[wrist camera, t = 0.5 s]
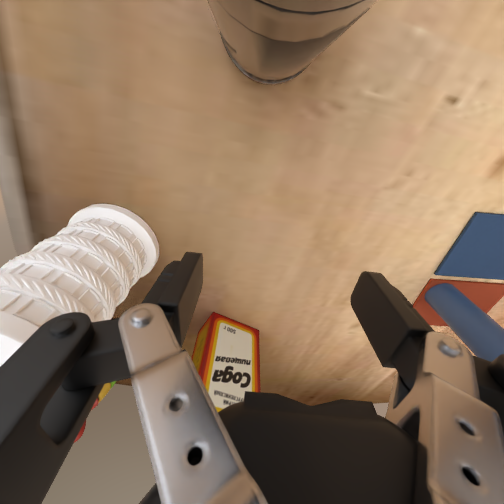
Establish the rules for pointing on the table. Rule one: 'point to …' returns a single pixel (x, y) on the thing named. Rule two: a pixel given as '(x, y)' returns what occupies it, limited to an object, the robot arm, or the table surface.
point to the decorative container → (75, 272)
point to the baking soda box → (227, 360)
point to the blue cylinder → (467, 321)
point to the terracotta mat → (475, 291)
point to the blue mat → (477, 249)
